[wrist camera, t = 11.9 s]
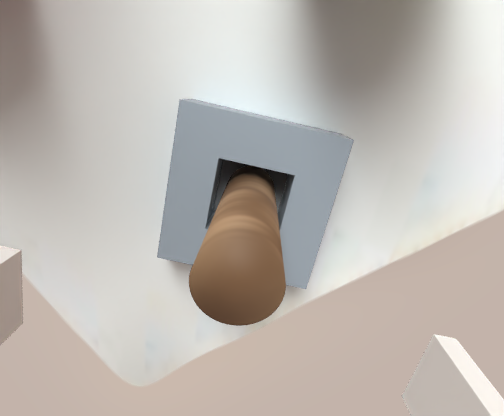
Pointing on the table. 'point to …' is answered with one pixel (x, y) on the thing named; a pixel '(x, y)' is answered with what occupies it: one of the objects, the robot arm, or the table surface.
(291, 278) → the socket block
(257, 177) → the peg
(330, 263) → the table surface
